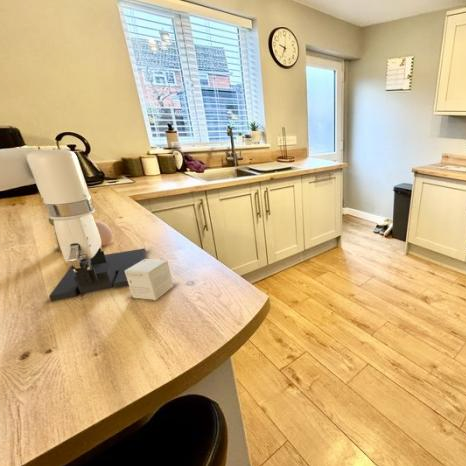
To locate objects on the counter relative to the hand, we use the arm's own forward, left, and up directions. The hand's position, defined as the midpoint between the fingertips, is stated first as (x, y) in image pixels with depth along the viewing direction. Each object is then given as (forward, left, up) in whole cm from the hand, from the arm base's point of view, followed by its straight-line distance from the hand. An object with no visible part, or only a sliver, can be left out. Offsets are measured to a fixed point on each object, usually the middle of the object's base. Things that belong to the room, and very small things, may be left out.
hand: (95, 275), depth 70 cm
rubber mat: (0, +6, -3) cm, 7 cm away
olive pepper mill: (-13, +31, -3) cm, 34 cm away
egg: (-5, +28, -3) cm, 29 cm away
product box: (+12, -10, -3) cm, 16 cm away
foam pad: (0, 0, -3) cm, 3 cm away
